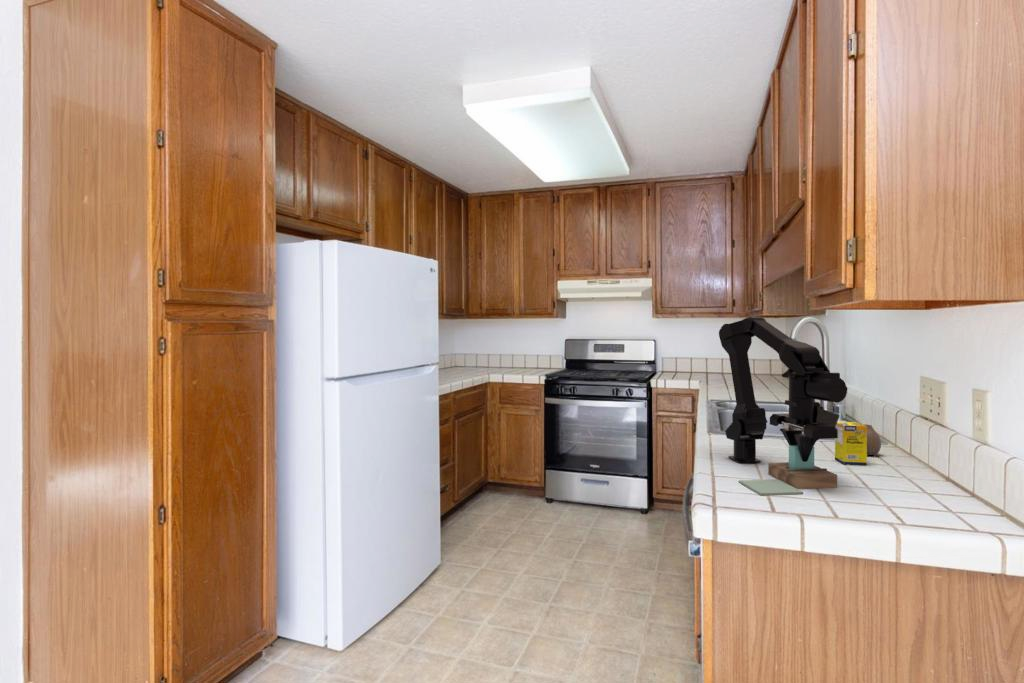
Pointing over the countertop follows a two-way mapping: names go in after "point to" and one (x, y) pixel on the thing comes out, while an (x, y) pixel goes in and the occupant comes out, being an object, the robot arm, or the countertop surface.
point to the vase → (872, 441)
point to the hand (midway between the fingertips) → (801, 460)
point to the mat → (770, 487)
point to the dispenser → (803, 476)
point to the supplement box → (851, 443)
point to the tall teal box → (799, 459)
